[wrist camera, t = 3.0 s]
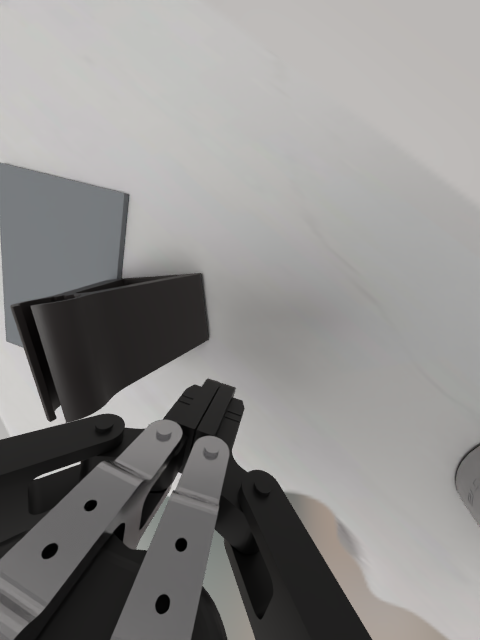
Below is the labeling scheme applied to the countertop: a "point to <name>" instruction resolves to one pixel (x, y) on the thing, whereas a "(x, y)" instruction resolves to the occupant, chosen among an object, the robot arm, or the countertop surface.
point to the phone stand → (107, 337)
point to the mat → (56, 236)
